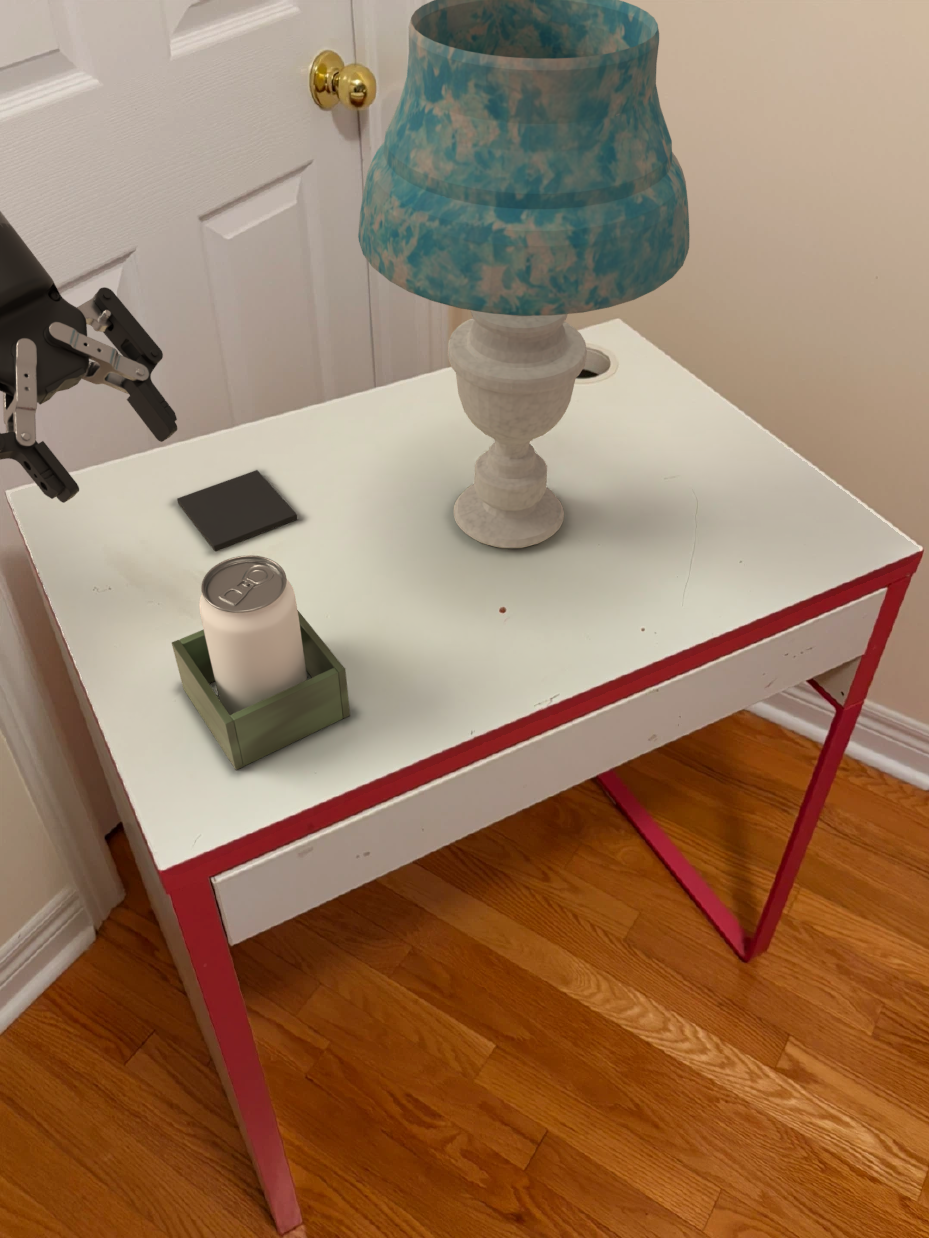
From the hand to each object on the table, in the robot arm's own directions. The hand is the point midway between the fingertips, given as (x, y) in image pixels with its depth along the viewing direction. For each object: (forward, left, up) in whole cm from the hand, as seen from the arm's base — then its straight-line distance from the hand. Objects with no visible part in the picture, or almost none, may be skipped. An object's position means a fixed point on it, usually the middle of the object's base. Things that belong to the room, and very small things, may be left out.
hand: (122, 465), depth 70 cm
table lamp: (+32, -1, -18) cm, 36 cm away
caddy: (+4, -9, -17) cm, 20 cm away
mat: (+12, +13, -17) cm, 24 cm away
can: (+4, -9, -18) cm, 20 cm away
